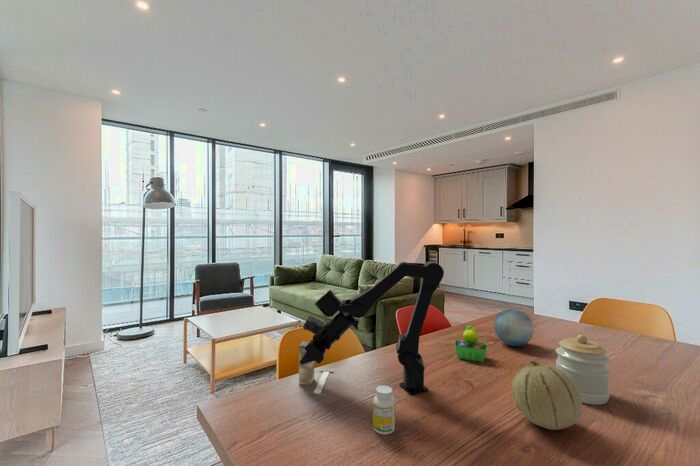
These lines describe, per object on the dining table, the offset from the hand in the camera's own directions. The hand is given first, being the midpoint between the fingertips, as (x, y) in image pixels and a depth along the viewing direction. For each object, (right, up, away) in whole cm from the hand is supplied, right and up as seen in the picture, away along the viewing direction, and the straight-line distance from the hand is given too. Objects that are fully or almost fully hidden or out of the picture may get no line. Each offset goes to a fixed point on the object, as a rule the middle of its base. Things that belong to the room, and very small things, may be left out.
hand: (302, 360), depth 102 cm
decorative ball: (+84, -7, +33) cm, 90 cm away
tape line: (+6, -7, -1) cm, 9 cm away
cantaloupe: (+64, -7, -22) cm, 68 cm away
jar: (+84, -7, -7) cm, 84 cm away
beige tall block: (+1, -7, 0) cm, 7 cm away
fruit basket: (+61, -7, +20) cm, 65 cm away
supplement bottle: (+23, -7, -24) cm, 34 cm away
